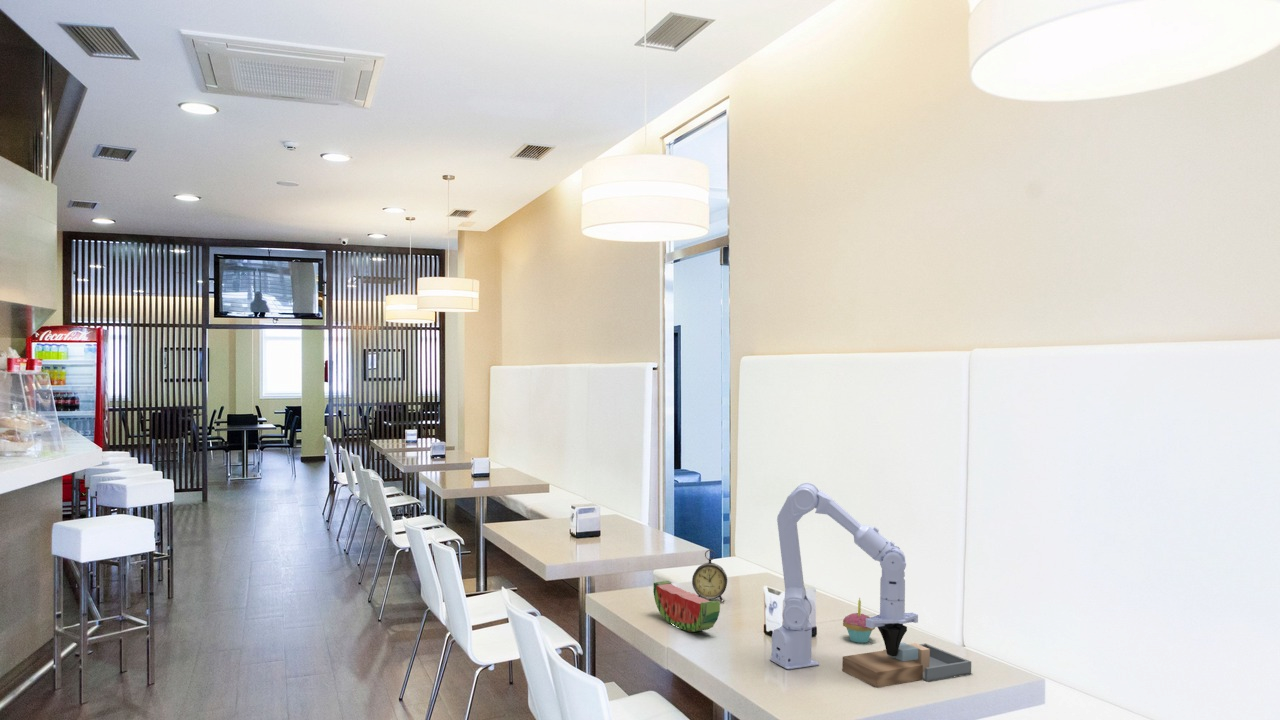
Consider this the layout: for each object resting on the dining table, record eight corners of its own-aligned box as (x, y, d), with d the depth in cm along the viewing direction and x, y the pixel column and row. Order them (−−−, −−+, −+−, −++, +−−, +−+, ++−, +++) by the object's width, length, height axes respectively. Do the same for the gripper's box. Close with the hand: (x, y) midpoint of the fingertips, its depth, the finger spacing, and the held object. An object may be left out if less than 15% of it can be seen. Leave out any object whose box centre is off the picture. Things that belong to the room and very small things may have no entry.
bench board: (876, 687, 189) (876, 672, 189) (842, 670, 200) (842, 656, 200) (922, 679, 195) (922, 665, 195) (887, 663, 206) (887, 649, 206)
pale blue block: (902, 661, 197) (902, 650, 197) (887, 655, 202) (887, 644, 202) (918, 659, 199) (918, 648, 199) (903, 653, 204) (903, 642, 204)
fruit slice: (651, 616, 243) (652, 582, 244) (669, 614, 247) (670, 580, 247) (702, 641, 221) (703, 603, 221) (721, 638, 224) (722, 601, 224)
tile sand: (921, 650, 200) (929, 649, 201) (906, 644, 204) (914, 643, 205) (921, 671, 199) (929, 669, 200) (906, 664, 204) (914, 663, 205)
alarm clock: (691, 602, 261) (692, 550, 261) (693, 597, 266) (694, 547, 267) (726, 604, 259) (727, 552, 259) (727, 600, 264) (728, 549, 265)
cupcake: (876, 646, 220) (876, 601, 220) (843, 643, 221) (844, 598, 222) (873, 636, 228) (874, 593, 228) (842, 634, 230) (842, 590, 230)
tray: (927, 681, 194) (927, 668, 194) (883, 661, 207) (883, 649, 207) (971, 674, 200) (971, 661, 200) (925, 655, 213) (925, 643, 213)
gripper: (880, 605, 193) (879, 663, 192) (927, 599, 199) (926, 656, 198) (860, 597, 199) (859, 654, 199) (906, 592, 205) (905, 647, 205)
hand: (891, 655), depth 199 cm, fingers closed
